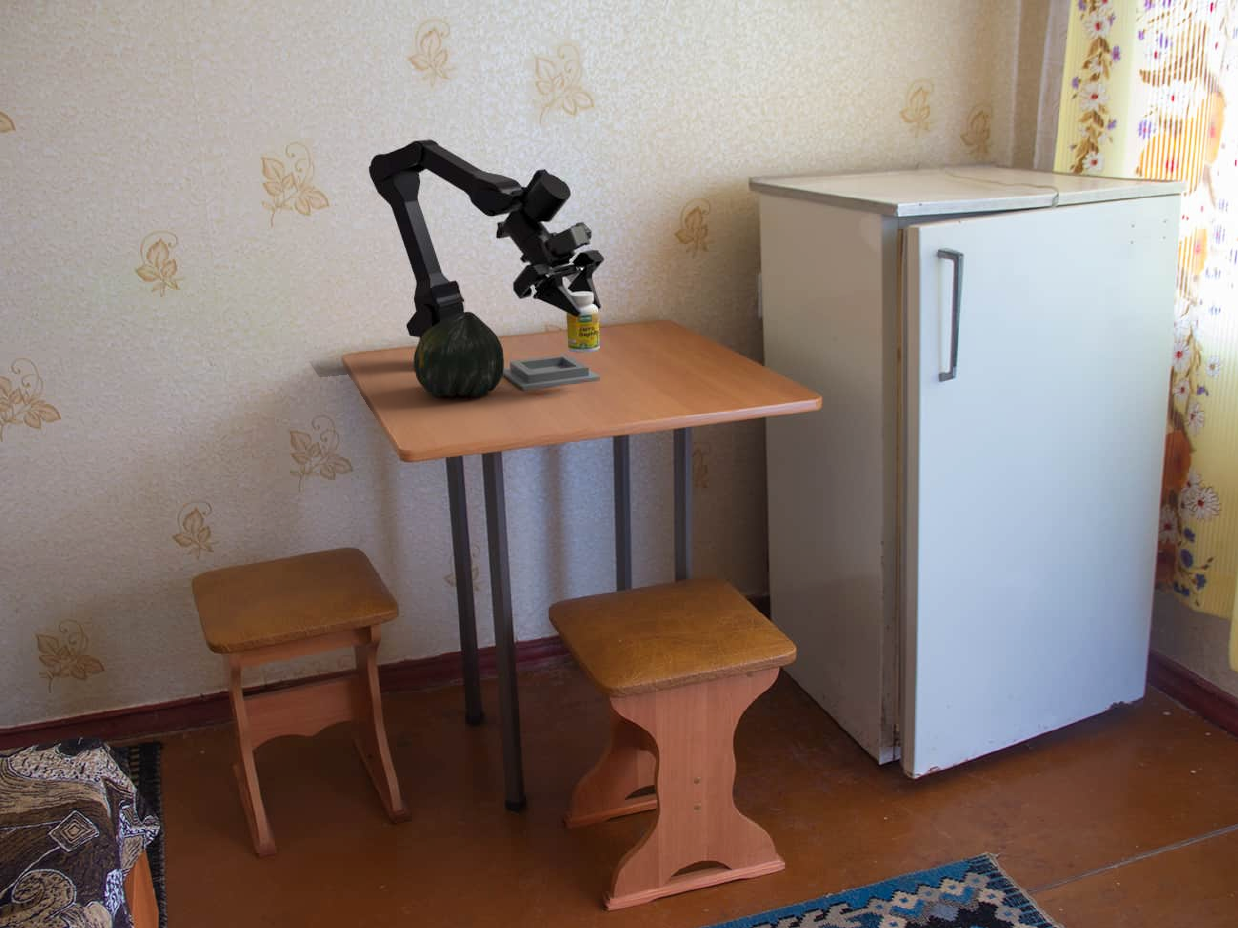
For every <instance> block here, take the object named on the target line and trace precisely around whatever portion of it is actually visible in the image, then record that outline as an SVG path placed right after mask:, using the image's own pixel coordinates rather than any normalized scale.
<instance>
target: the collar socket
mask: <svg viewBox="0 0 1238 928" xmlns="http://www.w3.org/2000/svg"><path fill="white" fill-rule="evenodd" d="M502 376H504V377H505V378H507V379H509V381H511V382H512V383H513V384H514V385H516V386H517V387H519V388H520V389H521V390H522V391H527V390H528V391H529V390H533V389H534V390H535V389H541V388H543V389H544V388H549V387H551V388H552V387H557V386H565V385H572V384H578V383H586V382H594V381H595V382H596V381H600V380H601V376H599V375H598V374H597V373H595V372H594V371H592V370H590V369H589V367H588V366H587V365H586V364H584V363H583V362H580V361H579V360H577V359H575V357H573V356H571V355H570V354H559V355H553V356H552V355H551V356H545V357H544V356H543V357H536V358H530V359H529V358H528V359H521V360H514V361H509V367H506V368H505V367H504V371H503V375H502Z"/></svg>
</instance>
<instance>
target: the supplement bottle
mask: <svg viewBox="0 0 1238 928" xmlns="http://www.w3.org/2000/svg"><path fill="white" fill-rule="evenodd" d="M569 294H570V296H571V297H572V299H573V300H574V302H575V303H576V305H577V307H578V308H579V310H580V312H581V313H580V315H579V316H578V317H575V316H573V315H571V314H569V313H567V312H565V313H566V314H565V315H566V325H567V327H566V328H567V329H566V331H567V343H568V344H567V345H568V350H569V351H570V352H571V353H576V354H589V353H594V352H597V351H598V350H600V347H601V344H600V343H601V342H600V341H601V340H600V317H599V316H600V315H599V310H598V308H597V306H596V305H594V304H592V302H593V301H594V294H593V293H592V292H585V291H582V292H573V293H572V292H571V293H569Z"/></svg>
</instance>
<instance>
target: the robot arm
mask: <svg viewBox="0 0 1238 928" xmlns="http://www.w3.org/2000/svg"><path fill="white" fill-rule="evenodd" d="M426 170H427V171H429V172H431V173H432V174H434V175H435V176H438V177H439V178H440V179H442V180H444V181H446V182H447V183H449V184H451V185H452V186H454V187H456V188H457V189H459V190H460V191H462V192H464V193H465V194H466V195H467V196H468V198H469V199H470V202H471V204H472V205H473V206H474V207H476V208H477V210H479V211H480V212H481V213H482V214H483V215H485V216H487V217H490V218H491V217H497V216H503V215H507V217H506V218H505V219H504V220H503V221H498V222H497V223H496V225H497V226H496V227H497V230H496V232H495V233H496V234H495V238H496V239H498V240H499V239H504V238H510V240H511V241H512V243H514V245H515V246H516V247H517V248H518V250H520V252H521V253H522V255H521V257H519V260H521V262H522V263H523V264H525V263H529V264H527V265H525V267H524V268H523V269H522V270H521V272H520V273H519V274H518V276H517V277H516V278H515V280H514V281H513V282H512V288H513V289H512V290H513V293H515V295H516V296H517V298H518V299H519V300H521V299H525V298H529V297H531V296H532V298H533V299H534V300H539V301H542V302H544V303H546V304H549V305H551V306H553V307H556V308H558V309H559V310H561V311H562V312H565V313H566V312H567V313H569V314H571V315H573V316H575V317H578V316H579V315H580V313H581V312H580V310H579V308H578V307H577V305H576V303H575V302H574V300H573V299H572V297H571V296H570V294H571V293H573V292H582V291H585V292H592V293H593V294H594V301H593V302H592V304H594V305H596V306H597V308H598V311H599V310H600V309H601V308H602V305H601V302H600V299H599V296H598V293H597V289H596V287H595V284H594V280H593V274H594V273H595V272H596V270H597V269H598V268H599V267H600V265H601V264H602V263H603V262H604V261H605V257H604V256H603V255H602V254H601V252H600V251H599V250H597V249H589V250H585V251H581V252H579V253H578V255H577V256H576V254H577V253H576V252H575V251H576V250H577V249H579V248H582V247H583V246H588V245H590V244H591V241H590V240H591V239H592V235H593V234H592V230H591V229H590V228H589V227H588V226H587V224H585V223H584V221H580V222H577V223H575V224H574V225H573V224H572V225H571V226H570V227H569V228H566V229H564V230H563V231H560V232H556V231H555V232H550V231H549V230H548V228H547V227H546V226H545V225H544V223H550V222H551V221H553V220H554V218H555V217H556V215H557V214H559V212H560V210H561V209H562V207H563V206H564V205H565V204H566V202H567V201H568V200H569V199H570V197H571V193H572V192H571V189H570V187H569V185H568V184H567V183H566V182H565V181H564V180H561V178H559V177H558V176H556V175H554V174H552V173H549V172H548V171H547V170H546V169H545V168H544V169H537V170H536V171H535V172H534V174H533V176H532V179H530V182H529V183H528V184H527V185H526V186H522V185H521V184H520V183H519V181H518V180H517V179H515V178H511V177H508V176H506V175H502V174H497V173H493V172H488V171H485V170H482V169H480V168H478V167H476V166H475V165H473V164H472V163H470V162H468V161H467V160H464V158H461V157H460V156H458V155H456V154H454V153H453V152H451V151H450V150H448V149H446V148H445V147H443V146H441V145H439V143H438V142H437V141H435V140H433V139H429V138H427V139H422V140H420V139H419V140H413V141H412V142H410V143H408V144H407V145H404V146H403V147H400V148H398V149H396V150H393V151H391V152H388V153H380V154H376V155H374V156H373V157H372V159H371V162H370V165H369V167H368V174H369V176H370V179H371V181H372V183H373V185H374V187H375V189H376V191H377V194H379V195H380V197H381V198H383V199H384V201H385V202H386V203H388V205H389V206H390V207H391V210H392V213H393V216H394V219H395V222H396V225H397V228H398V230H399V234H400V236H401V240H402V243H403V245H404V249H405V252H406V255H407V258H408V260H409V265H410V266H411V267H410V268H411V269H412V273H413V276H414V279H415V281H416V283H415V289H414V294H413V295H414V296H413V302H414V307H415V311H414V314H413V315H412V316H411V318H410V319H409V320H408V322H407V323H406V329H407V332H408V335H409V337H416V338H419V339H418V340H419V341H420V339H421V337H422V336H423V335H424V334H425V332H427V331H428V330H429V329H430V328H431V327H433V326H434V325H436V324H438V323H440V322H442V321H444V320H446V319H448V318H450V317H452V316H454V315H456V314H459V313H462V312H465V311H464V310H465V307H464V302H465V298H464V297H463V295H462V293H461V290H460V289H461V288H460V285H459V282H458V281H457V280H451V281H450V280H449V279H448V278H447V277H446V276H445V275H444V274H443V272H442V271H443V270H442V268H441V266H440V262H439V260H438V256H437V253H436V250H435V248H434V247H435V246H434V244H433V240H432V239H431V235H430V232H429V229H428V226H427V223H426V220H425V217H424V214H423V211H422V209H421V204H420V202H419V199H418V197H419V193H420V186H421V178H420V173H422V172H424V171H426ZM542 222H543V223H542ZM575 256H576V257H575ZM574 257H575V258H574ZM573 258H574V259H573ZM571 259H573V261H570V260H571ZM563 278H565V279H567V281H569V283H570V284H569V286H568V287H567V288H566V286H565V285H564V282H563ZM532 286H534V289H535V292H534V294H532V293H533V290H532V288H531V287H532ZM567 289H568V290H569V291H570V292H571V293H569V291H568V290H567ZM419 341H418V342H419Z"/></svg>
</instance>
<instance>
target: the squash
mask: <svg viewBox="0 0 1238 928" xmlns="http://www.w3.org/2000/svg"><path fill="white" fill-rule="evenodd" d="M504 363H505V358H504V349H503V346H502V343H501V341H500V339H499V337H498V335H497V334H496V333H495V332H494V331H493V329H491V327H489V326H488V325H487V324H486V323H485V322H483V320H482V319H481V318H480V317H479V316H477V315H476V314H475V313H474V312H471V311H464V312H462V313H459V314H456V315H454V316H452V317H450V318H448V319H446V320H444V321H442V322H440V323H438V324H436V325H434V326H433V327H431V328H430V329H429V330H428V331H427V332H425V334H424V335H423V336H422V337H421V339H420V341H418V343H417V346H416V348H415V351H414V355H413V369H414V374H415V377H416V379H417V381H418V383H419V384H420V385H421V387H422V388H423V389H424V390H425V391H427V392H428V393H429V394H430V395H433V396H435V397H445V396H450V397H451V396H452V397H453V396H455V395H456V394H458V395H459V396H466V395H467V396H469V397H472V398H478V397H482V396H484V395H485V394H487V393H489V392H492V391H493V390H495V388H496V387H497V386H498V385H499V383H500V382H501V380H502V378H503V376H504V375H503V371H504V368H505V364H504Z"/></svg>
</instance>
